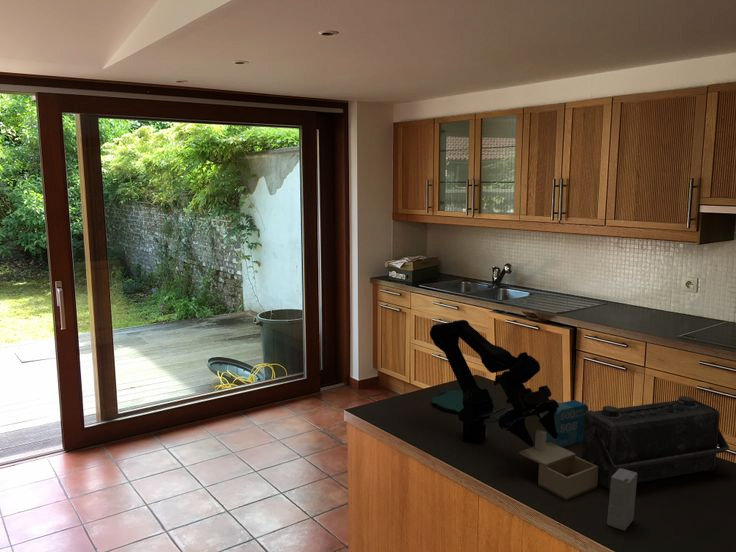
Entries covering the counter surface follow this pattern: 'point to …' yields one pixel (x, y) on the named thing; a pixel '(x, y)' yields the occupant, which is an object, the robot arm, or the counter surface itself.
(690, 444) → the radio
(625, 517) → the skincare box
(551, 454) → the lid
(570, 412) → the data package
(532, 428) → the counter surface
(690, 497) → the counter surface
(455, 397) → the cutlery set
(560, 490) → the carton
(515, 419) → the robot arm
